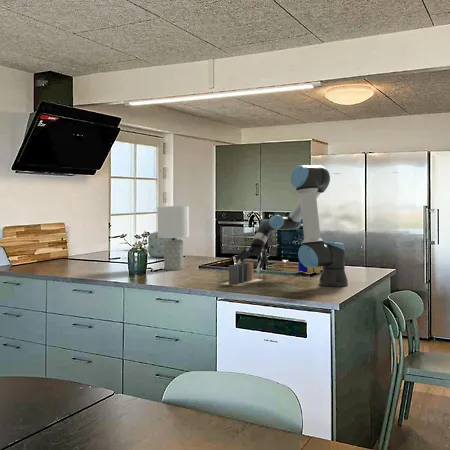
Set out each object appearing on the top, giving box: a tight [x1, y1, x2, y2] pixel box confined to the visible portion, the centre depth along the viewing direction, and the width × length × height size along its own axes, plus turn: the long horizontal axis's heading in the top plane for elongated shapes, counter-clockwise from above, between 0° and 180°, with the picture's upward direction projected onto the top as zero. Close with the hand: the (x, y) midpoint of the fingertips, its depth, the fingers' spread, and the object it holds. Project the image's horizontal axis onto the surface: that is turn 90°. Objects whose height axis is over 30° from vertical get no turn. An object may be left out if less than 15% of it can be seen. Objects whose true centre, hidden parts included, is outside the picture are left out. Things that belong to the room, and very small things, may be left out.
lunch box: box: [147, 231, 182, 259], centre depth 419 cm, size 27×10×21 cm, turn 74°
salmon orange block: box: [243, 261, 254, 280], centre depth 299 cm, size 2×5×10 cm, turn 58°
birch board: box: [220, 278, 264, 287], centre depth 293 cm, size 14×25×1 cm, turn 149°
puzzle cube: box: [298, 259, 321, 275], centre depth 328 cm, size 10×10×10 cm
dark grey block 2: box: [239, 262, 249, 282], centre depth 294 cm, size 2×5×10 cm, turn 58°
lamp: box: [156, 205, 190, 271], centre depth 349 cm, size 21×21×42 cm
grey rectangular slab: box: [233, 263, 244, 283], centre depth 290 cm, size 2×5×10 cm, turn 58°
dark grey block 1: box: [228, 264, 239, 285], centre depth 285 cm, size 2×5×10 cm, turn 59°
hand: (246, 271), depth 297 cm, fingers open, 13 cm apart
